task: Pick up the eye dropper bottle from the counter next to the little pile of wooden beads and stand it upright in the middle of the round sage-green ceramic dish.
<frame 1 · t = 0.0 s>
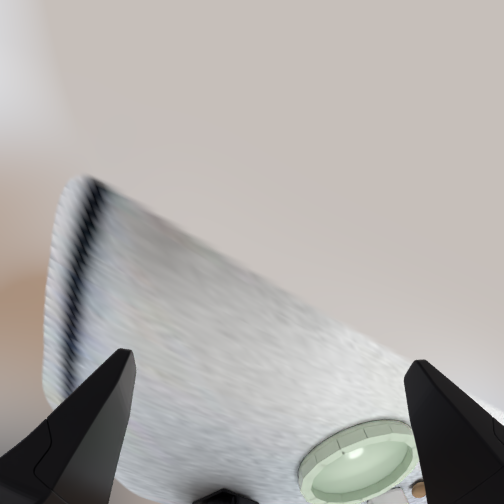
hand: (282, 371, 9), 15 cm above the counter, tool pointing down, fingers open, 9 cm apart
eye dropper bottle: (383, 494, 35), on the counter
sage dish: (358, 461, 32), on the counter
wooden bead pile: (432, 475, 35), on the counter
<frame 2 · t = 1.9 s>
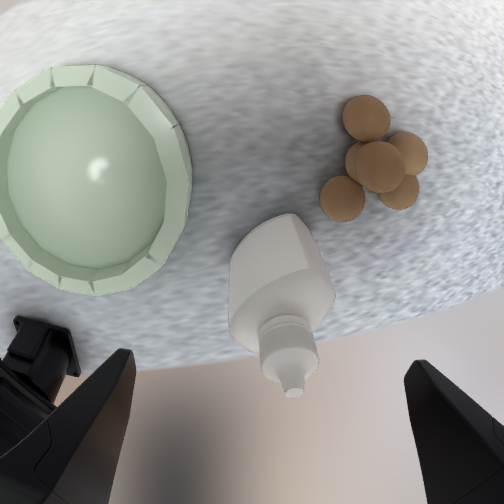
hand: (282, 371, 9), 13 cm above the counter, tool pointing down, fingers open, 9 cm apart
eye dropper bottle: (269, 243, 22), on the counter
sage dish: (83, 179, 19), on the counter
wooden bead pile: (360, 158, 19), on the counter
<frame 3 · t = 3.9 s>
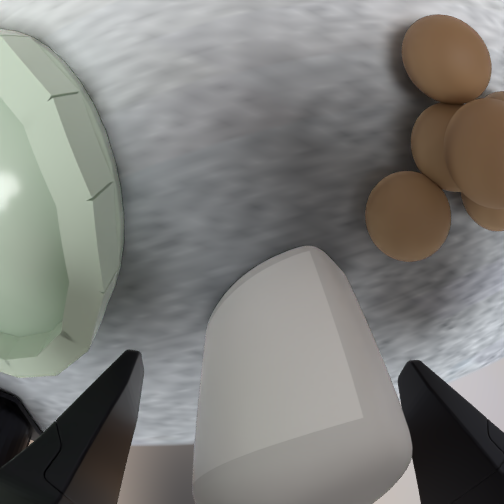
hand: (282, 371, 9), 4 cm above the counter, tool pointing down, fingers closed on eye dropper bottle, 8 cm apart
eye dropper bottle: (272, 297, 13), on the counter, touching gripper
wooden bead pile: (431, 137, 9), on the counter
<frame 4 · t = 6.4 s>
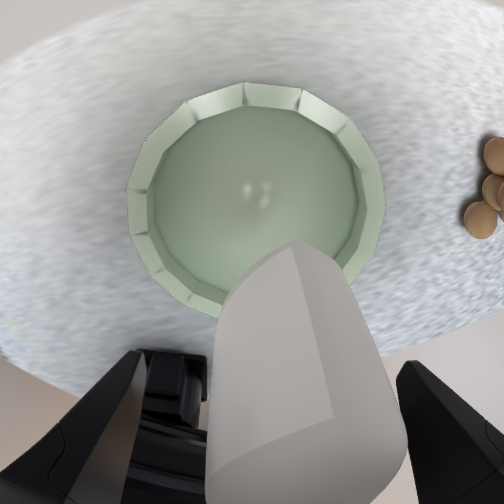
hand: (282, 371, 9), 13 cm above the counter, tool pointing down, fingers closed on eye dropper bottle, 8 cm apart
eye dropper bottle: (272, 297, 12), point 9 cm above the counter, touching gripper
sage dish: (256, 205, 20), on the counter
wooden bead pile: (487, 185, 20), on the counter
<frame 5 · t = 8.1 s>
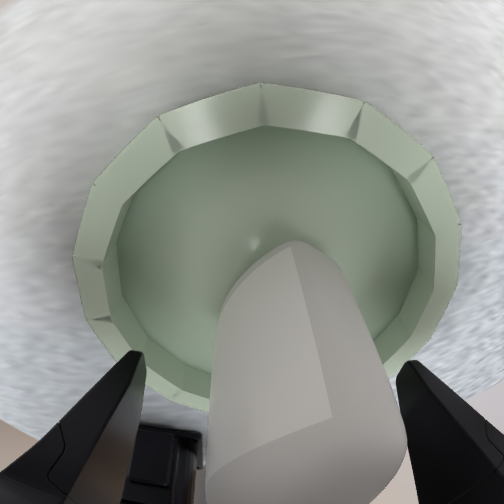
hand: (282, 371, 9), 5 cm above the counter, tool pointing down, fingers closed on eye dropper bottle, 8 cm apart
eye dropper bottle: (272, 297, 12), point 2 cm above the counter, touching gripper
sage dish: (271, 273, 14), on the counter
when the fingers open (5 cm above the counter, at t = 9.2 s): eye dropper bottle stays where it is, resting on sage dish.
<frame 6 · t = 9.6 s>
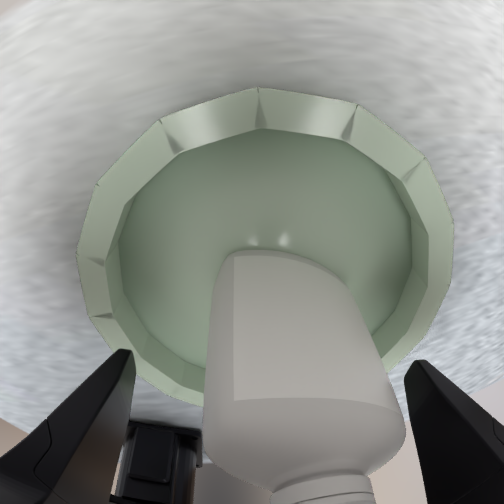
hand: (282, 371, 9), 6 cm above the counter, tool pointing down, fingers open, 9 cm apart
eye dropper bottle: (282, 284, 14), point 1 cm above the counter, touching sage dish
sage dish: (269, 271, 14), on the counter
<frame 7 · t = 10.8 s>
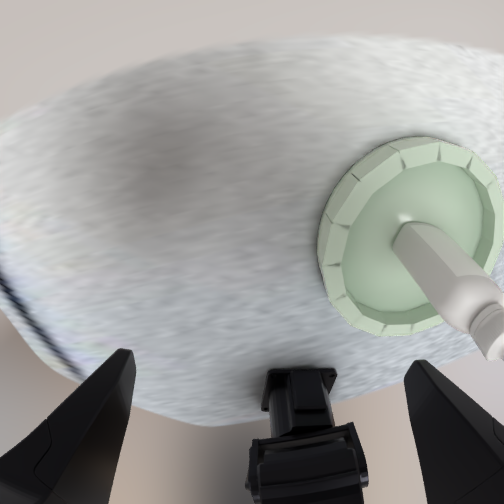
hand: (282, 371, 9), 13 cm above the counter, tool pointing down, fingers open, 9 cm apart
eye dropper bottle: (422, 243, 22), point 1 cm above the counter, touching sage dish
sage dish: (413, 237, 22), on the counter
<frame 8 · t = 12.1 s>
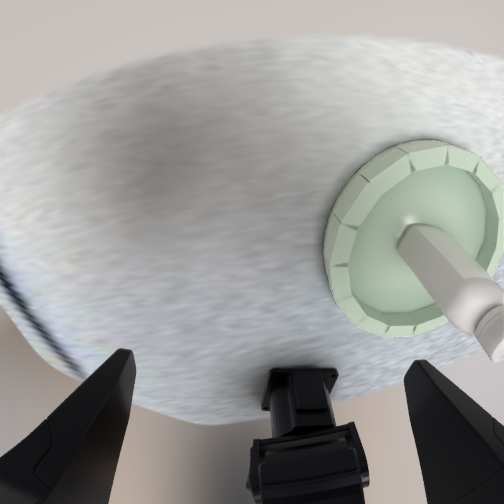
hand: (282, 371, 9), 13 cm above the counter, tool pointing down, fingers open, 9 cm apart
eye dropper bottle: (426, 246, 22), point 1 cm above the counter, touching sage dish
sage dish: (418, 239, 22), on the counter
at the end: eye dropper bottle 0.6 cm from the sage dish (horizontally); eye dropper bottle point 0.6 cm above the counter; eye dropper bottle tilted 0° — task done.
